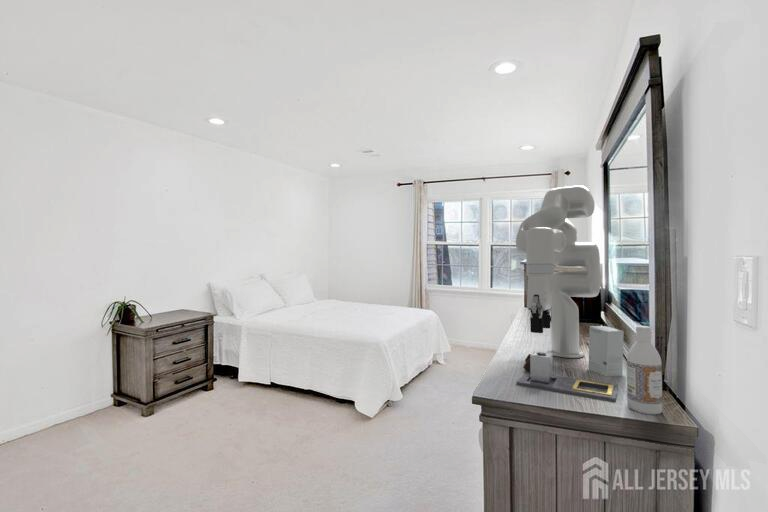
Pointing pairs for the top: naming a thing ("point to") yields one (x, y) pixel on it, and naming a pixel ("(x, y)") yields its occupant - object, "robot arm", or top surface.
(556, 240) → the robot arm
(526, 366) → the bolt
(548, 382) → the brushed steel block
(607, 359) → the skincare box
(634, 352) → the bath foam
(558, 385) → the grey slotted board
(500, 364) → the top surface
